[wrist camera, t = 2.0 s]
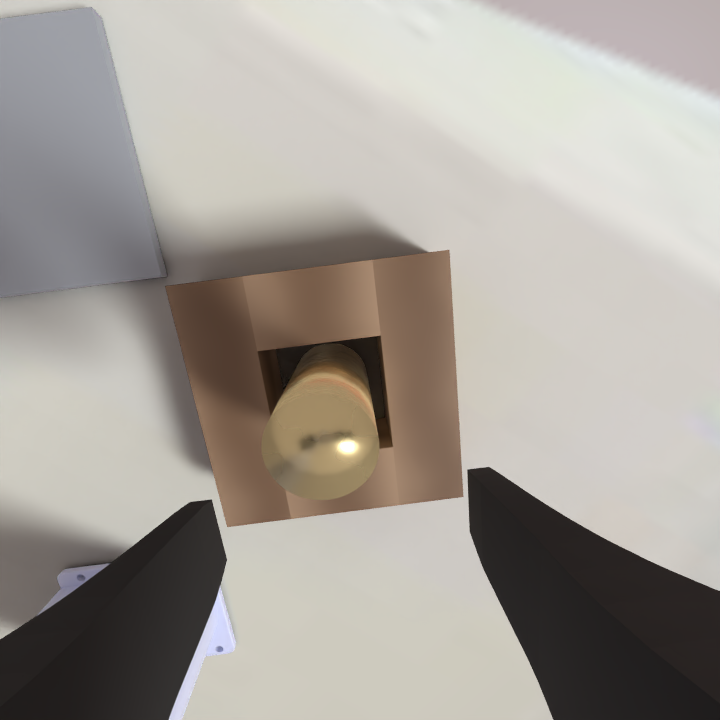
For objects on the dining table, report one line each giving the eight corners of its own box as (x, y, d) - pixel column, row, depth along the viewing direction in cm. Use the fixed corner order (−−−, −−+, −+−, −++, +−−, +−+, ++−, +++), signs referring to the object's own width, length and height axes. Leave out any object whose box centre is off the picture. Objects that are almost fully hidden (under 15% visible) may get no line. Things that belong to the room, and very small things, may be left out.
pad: (-47, 303, 18) (-60, 304, 18) (-152, 48, 15) (-172, 40, 15) (167, 276, 18) (161, 276, 18) (101, 16, 15) (91, 7, 15)
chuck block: (246, 485, 21) (227, 526, 18) (198, 282, 18) (165, 286, 15) (444, 460, 21) (463, 496, 18) (430, 253, 18) (449, 249, 15)
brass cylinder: (301, 415, 20) (273, 506, 13) (289, 348, 19) (250, 401, 12) (371, 406, 20) (385, 492, 13) (362, 338, 19) (372, 386, 12)
